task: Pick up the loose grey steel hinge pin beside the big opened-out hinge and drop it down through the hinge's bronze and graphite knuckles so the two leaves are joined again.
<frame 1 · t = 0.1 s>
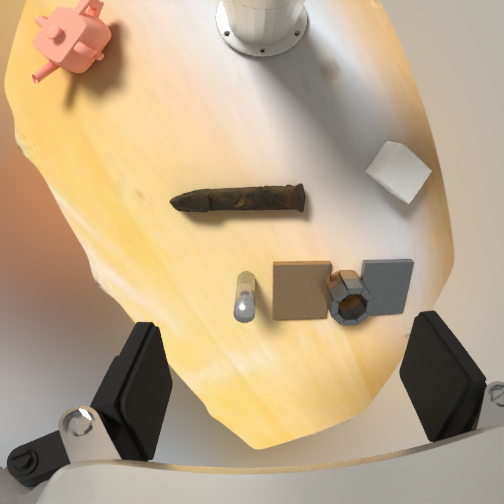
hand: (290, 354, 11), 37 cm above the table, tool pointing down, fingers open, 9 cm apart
light grey cube: (389, 167, 44), on the table
hinge: (343, 288, 51), on the table
hinge pin: (246, 279, 51), on the table
teapot: (82, 45, 36), on the table
hand tool: (237, 198, 46), on the table
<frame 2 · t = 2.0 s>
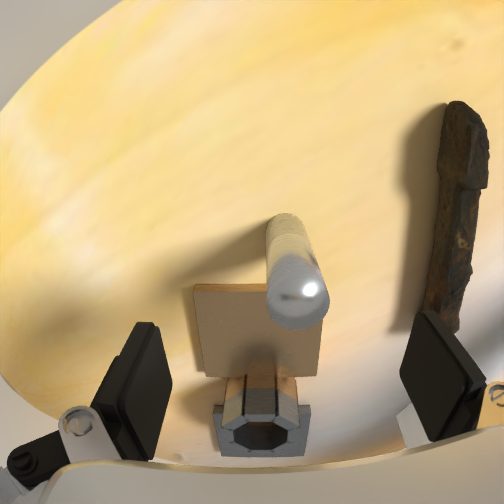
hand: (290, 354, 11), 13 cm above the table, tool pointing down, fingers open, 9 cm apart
light grey cube: (426, 404, 31), on the table
hinge: (261, 388, 29), on the table
hinge pin: (285, 231, 23), on the table
hand tool: (437, 218, 23), on the table
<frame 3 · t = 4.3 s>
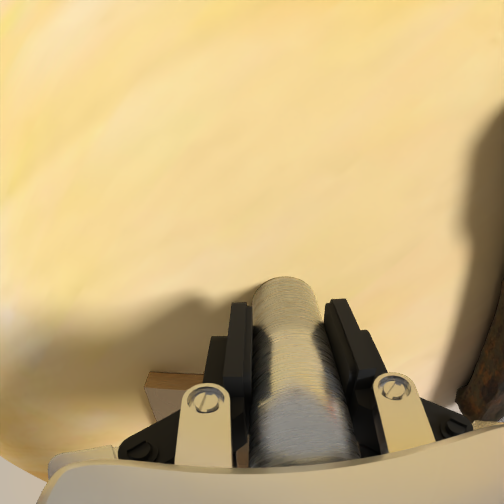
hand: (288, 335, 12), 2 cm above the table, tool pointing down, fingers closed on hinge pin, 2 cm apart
hinge: (251, 476, 20), on the table
hinge pin: (284, 305, 14), on the table, touching gripper
hand tool: (501, 269, 14), on the table
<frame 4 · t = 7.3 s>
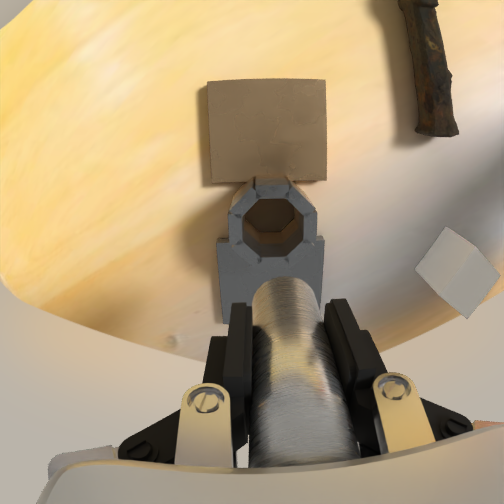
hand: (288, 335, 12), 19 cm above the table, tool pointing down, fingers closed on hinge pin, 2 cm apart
light grey cube: (444, 260, 31), on the table
hinge: (269, 208, 29), on the table
hinge pin: (284, 304, 14), point 17 cm above the table, touching gripper
hand tool: (411, 45, 23), on the table
when the fingers open (7 cm above the table, at t = 10.3 s): hinge pin drops 5 cm, resting in hinge.
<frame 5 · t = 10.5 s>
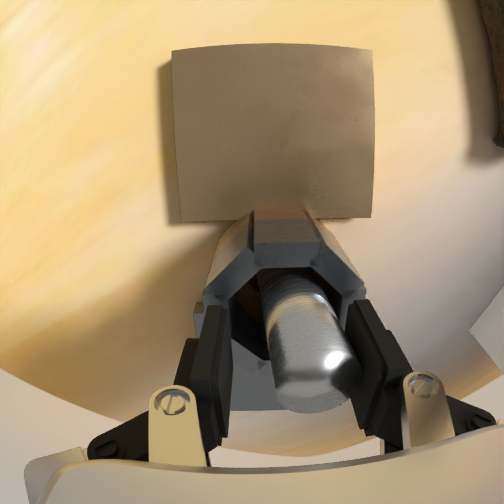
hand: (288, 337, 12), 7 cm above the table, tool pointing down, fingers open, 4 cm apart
light grey cube: (502, 314, 21), on the table
hinge: (277, 259, 18), on the table
hinge pin: (279, 259, 18), resting in hinge, touching gripper
hand tool: (480, 18, 12), on the table
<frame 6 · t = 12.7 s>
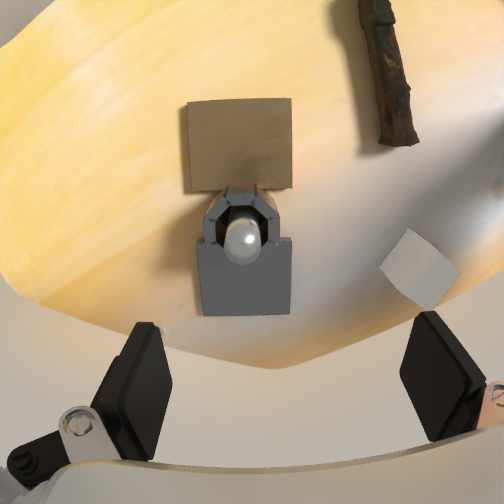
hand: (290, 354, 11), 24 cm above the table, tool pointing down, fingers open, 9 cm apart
light grey cube: (408, 259, 36), on the table
hinge: (243, 213, 33), on the table
hinge pin: (244, 212, 33), resting in hinge
hand tool: (373, 62, 27), on the table
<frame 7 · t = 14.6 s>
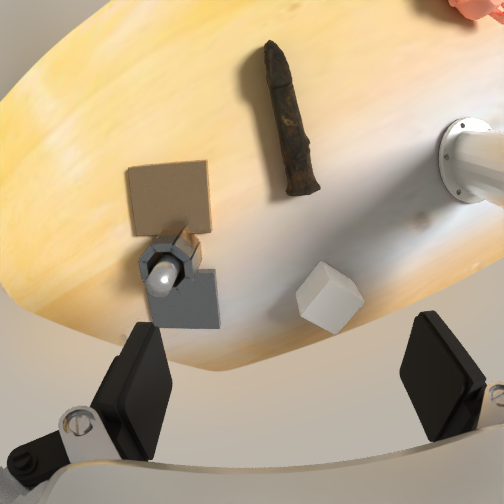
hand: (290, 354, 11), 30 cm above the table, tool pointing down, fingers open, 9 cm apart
light grey cube: (324, 286, 44), on the table
hinge: (177, 250, 42), on the table
hinge pin: (177, 250, 42), resting in hinge
hand tool: (281, 117, 36), on the table
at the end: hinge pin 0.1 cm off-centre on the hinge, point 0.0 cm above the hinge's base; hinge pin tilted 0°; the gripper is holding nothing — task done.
